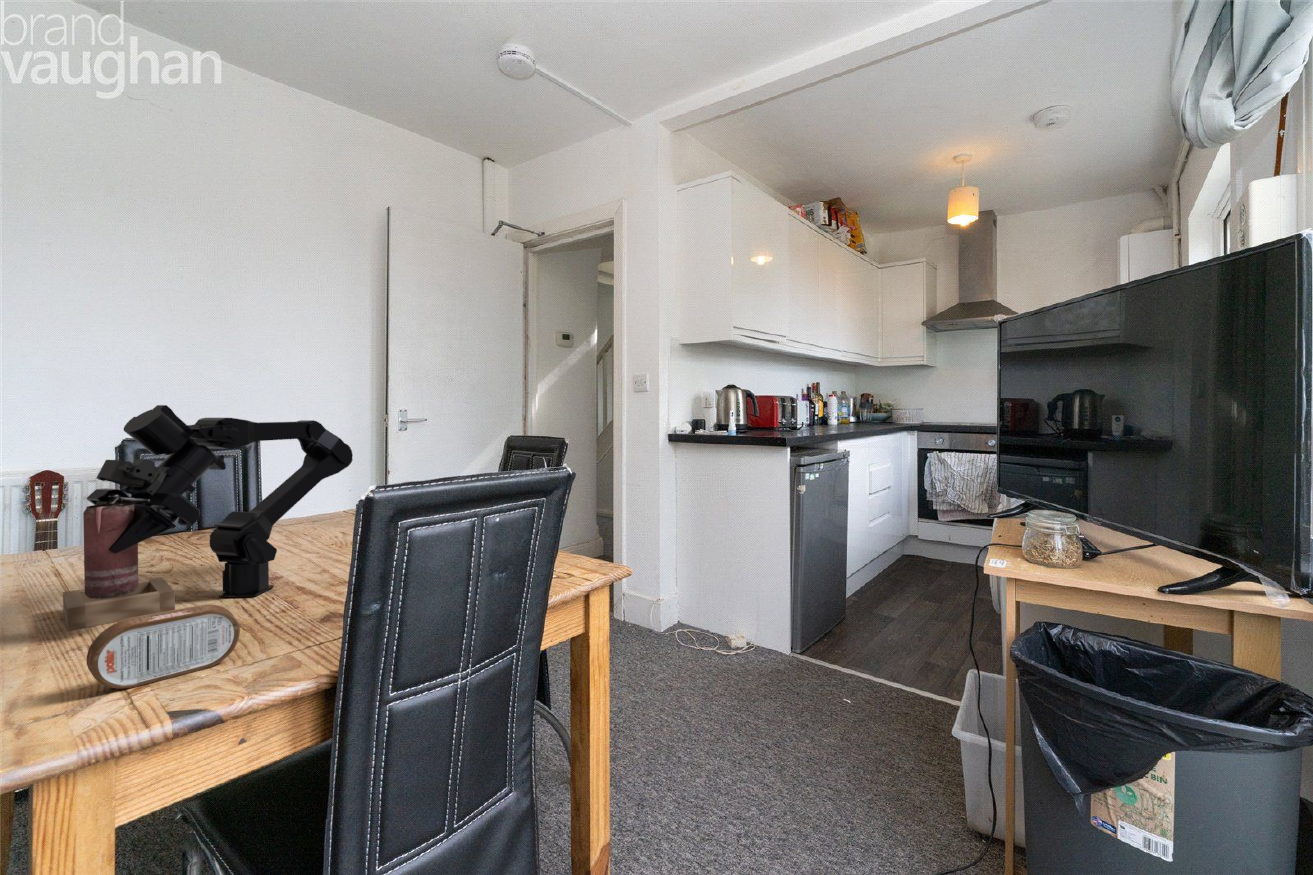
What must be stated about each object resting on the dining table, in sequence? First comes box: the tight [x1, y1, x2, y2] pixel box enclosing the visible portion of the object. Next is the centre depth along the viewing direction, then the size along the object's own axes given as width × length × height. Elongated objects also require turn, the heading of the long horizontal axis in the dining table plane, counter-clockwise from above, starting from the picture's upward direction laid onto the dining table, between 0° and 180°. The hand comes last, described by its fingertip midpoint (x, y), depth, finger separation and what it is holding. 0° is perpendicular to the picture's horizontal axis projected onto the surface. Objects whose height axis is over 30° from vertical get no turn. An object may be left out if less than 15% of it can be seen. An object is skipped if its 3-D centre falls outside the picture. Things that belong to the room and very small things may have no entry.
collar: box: [62, 577, 176, 632], centre depth 98 cm, size 13×13×4 cm
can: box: [82, 503, 139, 599], centre depth 88 cm, size 6×6×14 cm
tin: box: [86, 604, 241, 690], centre depth 73 cm, size 15×3×8 cm, turn 140°
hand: (100, 550), depth 87 cm, fingers closed on can, 5 cm apart
